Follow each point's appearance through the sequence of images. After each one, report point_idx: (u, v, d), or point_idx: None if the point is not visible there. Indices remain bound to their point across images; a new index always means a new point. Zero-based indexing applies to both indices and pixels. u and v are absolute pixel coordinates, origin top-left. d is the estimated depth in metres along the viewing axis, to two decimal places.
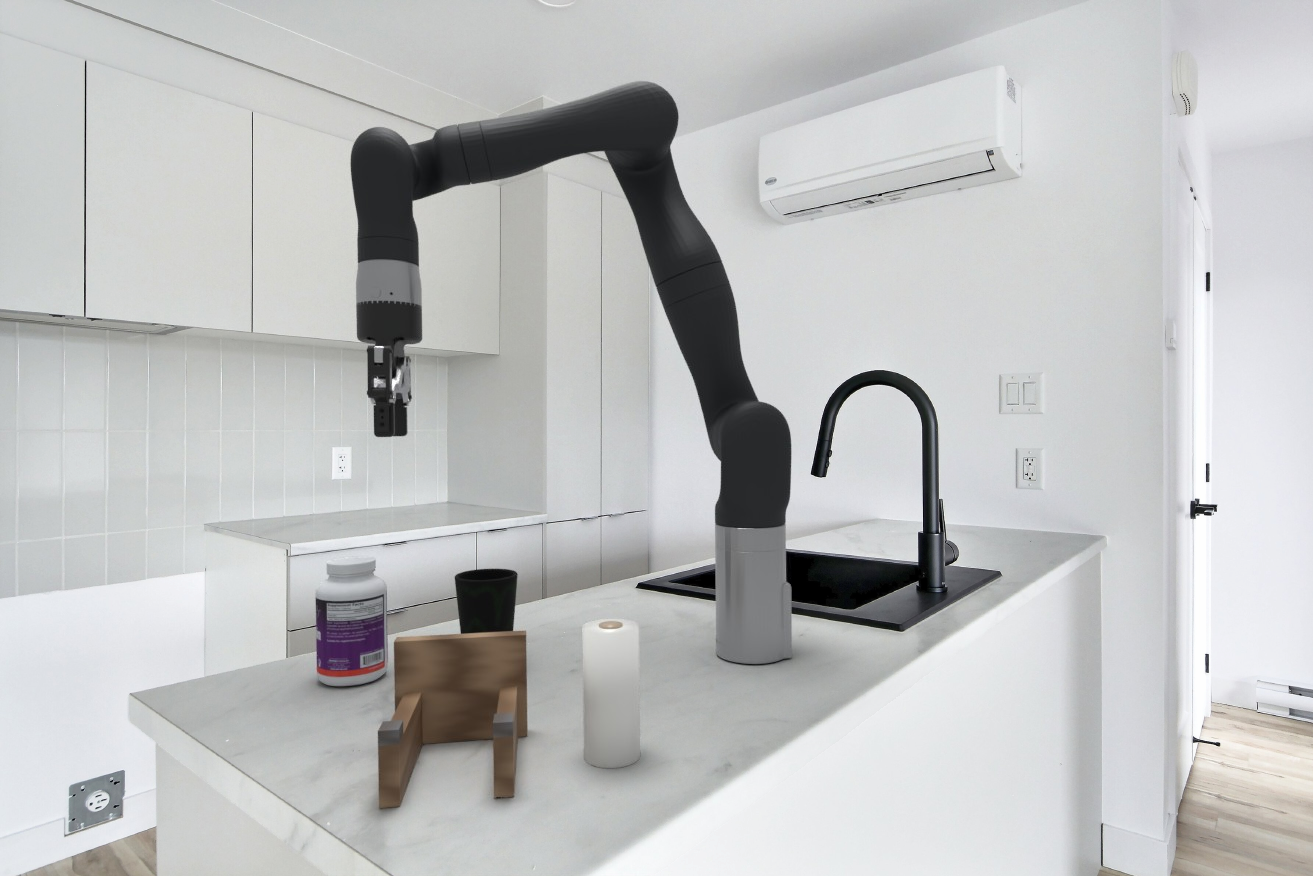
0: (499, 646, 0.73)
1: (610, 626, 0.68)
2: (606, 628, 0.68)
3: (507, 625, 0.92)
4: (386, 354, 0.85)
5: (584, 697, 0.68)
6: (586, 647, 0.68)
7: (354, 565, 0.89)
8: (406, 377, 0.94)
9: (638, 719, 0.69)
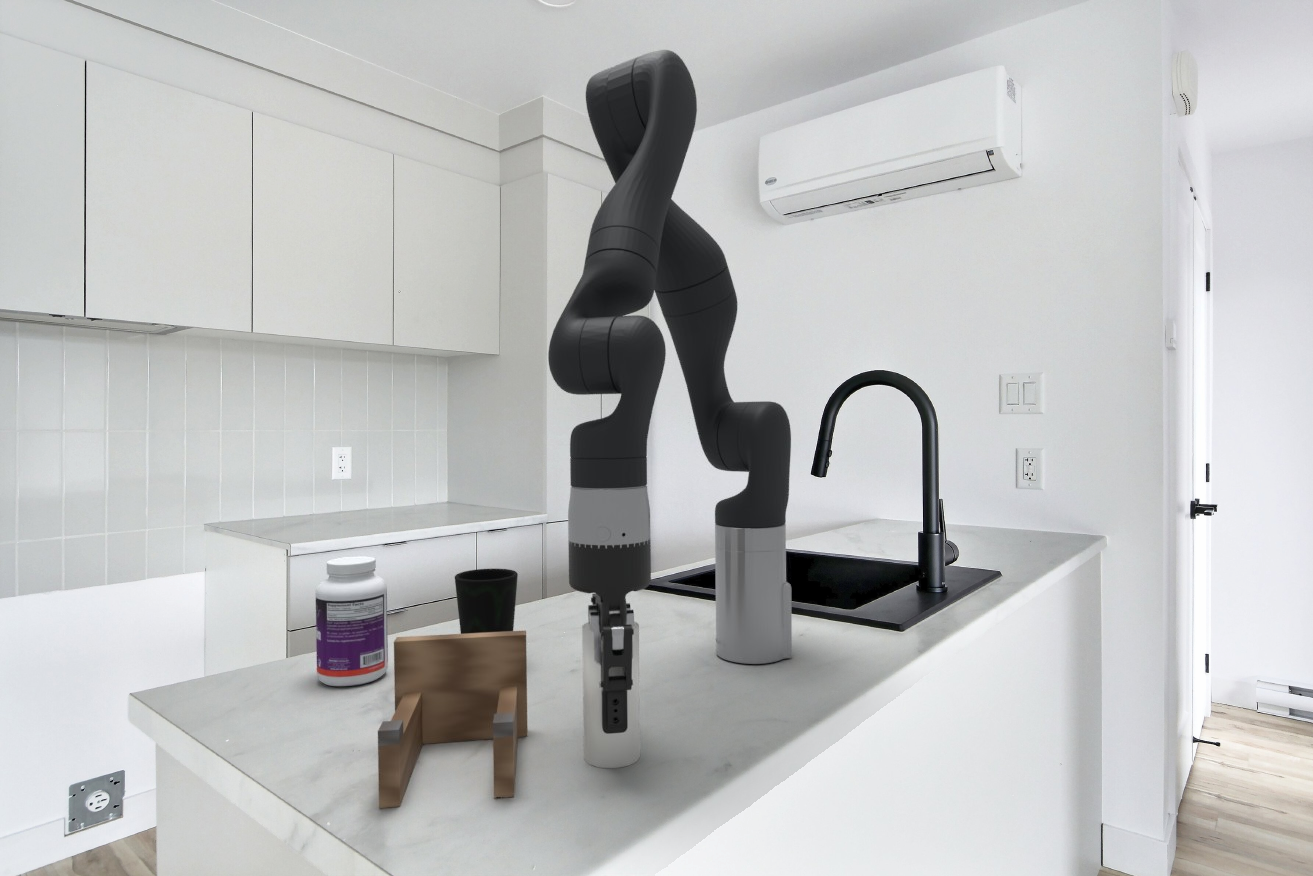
0: (499, 646, 0.73)
1: None
2: None
3: (507, 625, 0.92)
4: (628, 640, 0.63)
5: (584, 697, 0.68)
6: (586, 646, 0.68)
7: (354, 565, 0.89)
8: None
9: (638, 719, 0.69)
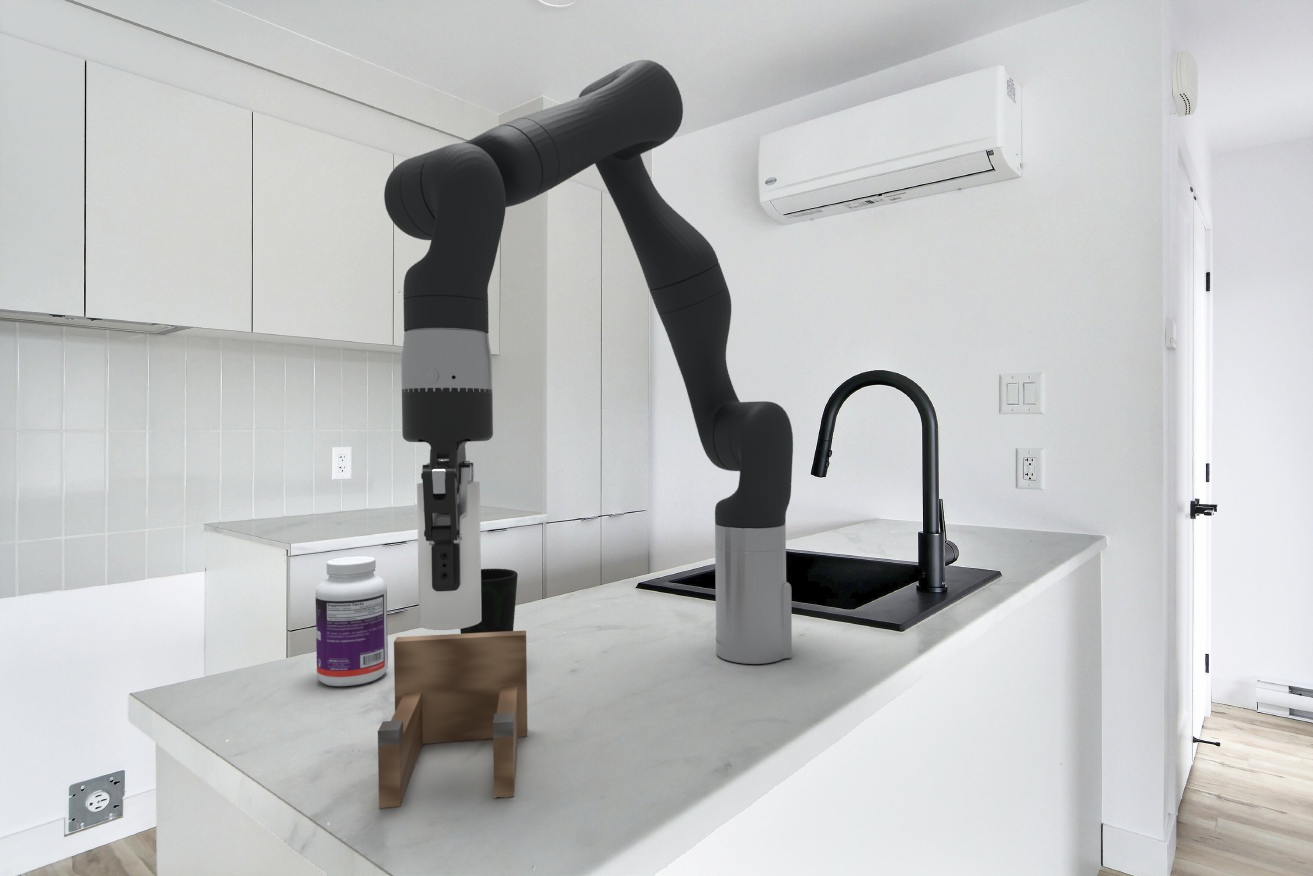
0: (499, 646, 0.73)
1: None
2: None
3: (507, 625, 0.92)
4: (450, 483, 0.58)
5: (418, 557, 0.64)
6: (419, 502, 0.63)
7: (354, 565, 0.89)
8: None
9: (476, 581, 0.64)
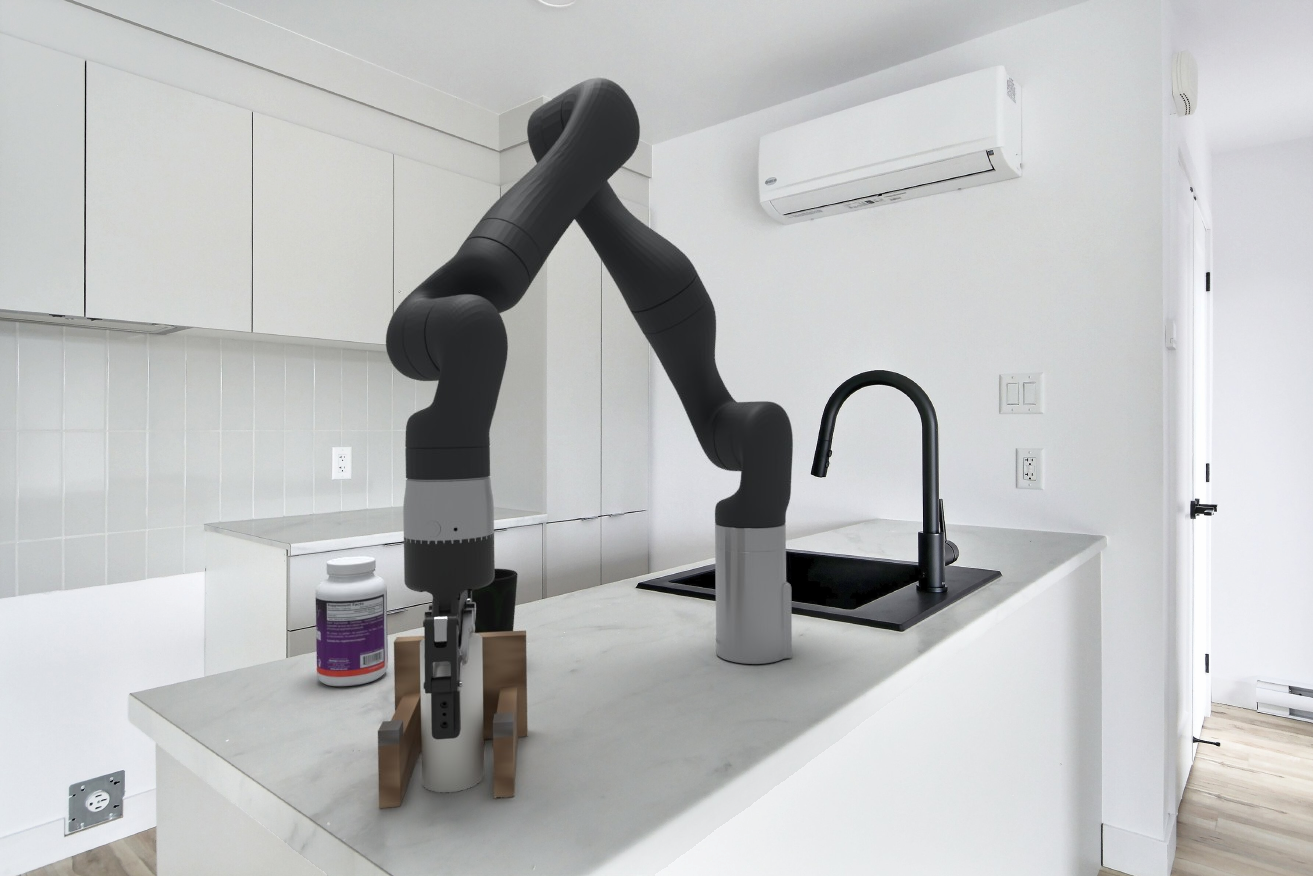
0: (499, 646, 0.73)
1: None
2: None
3: (507, 625, 0.92)
4: (451, 630, 0.58)
5: (421, 716, 0.64)
6: (422, 663, 0.63)
7: (354, 565, 0.89)
8: None
9: (479, 740, 0.64)
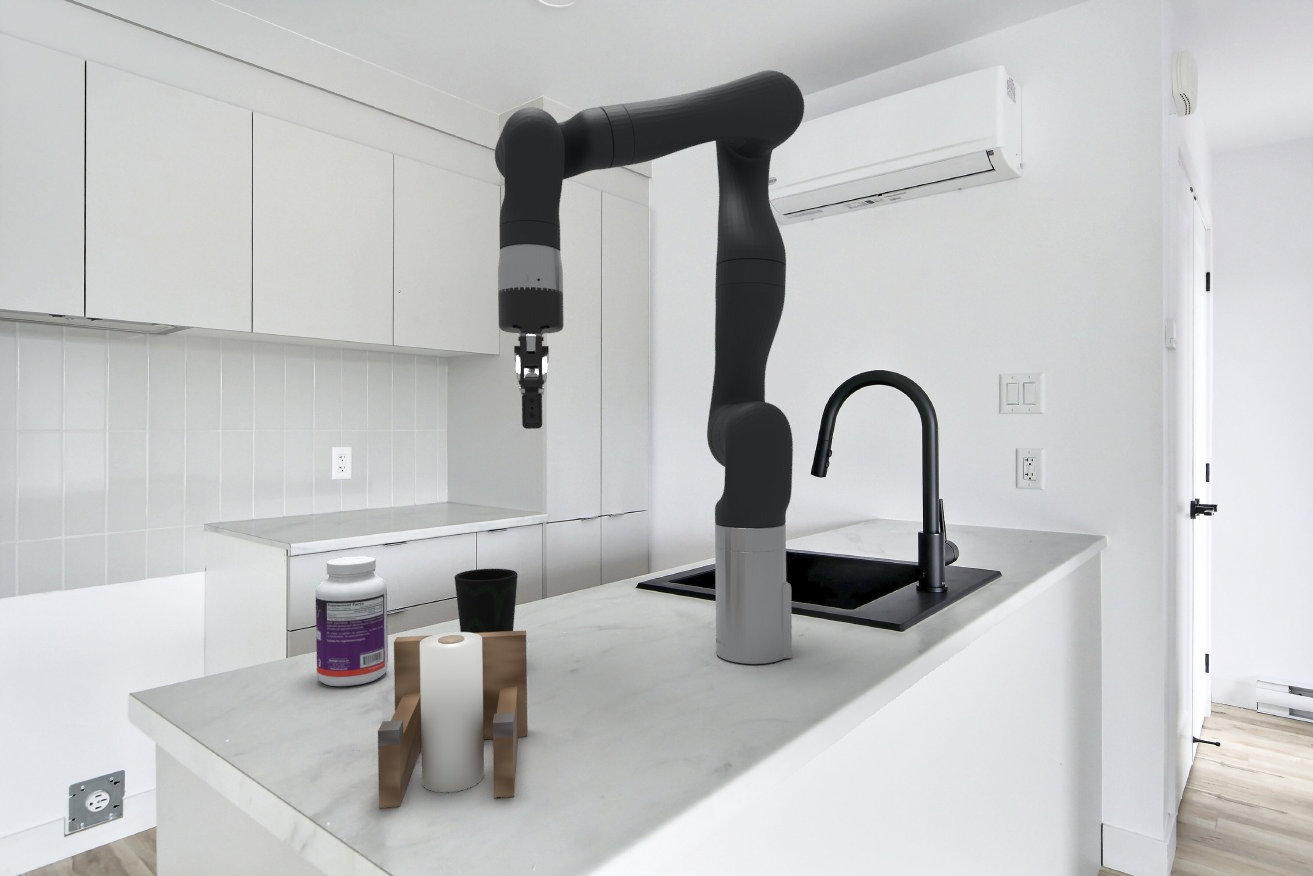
0: (499, 646, 0.73)
1: (448, 641, 0.64)
2: (444, 643, 0.64)
3: (507, 625, 0.92)
4: (539, 342, 0.82)
5: (421, 716, 0.64)
6: (421, 663, 0.63)
7: (354, 565, 0.89)
8: None
9: (479, 740, 0.64)
